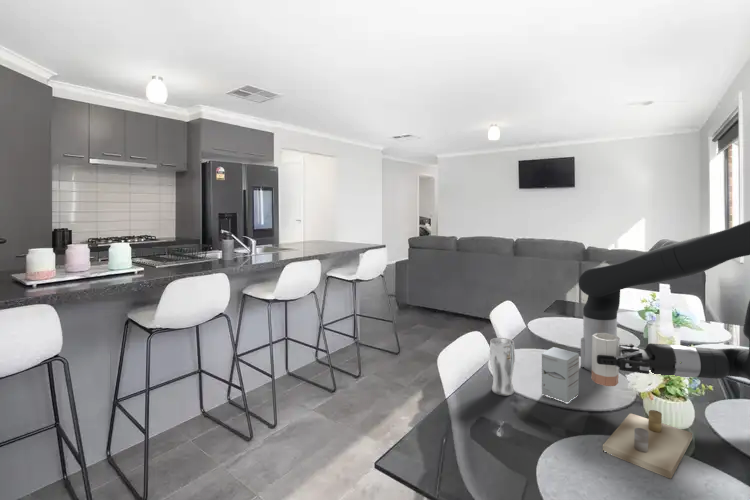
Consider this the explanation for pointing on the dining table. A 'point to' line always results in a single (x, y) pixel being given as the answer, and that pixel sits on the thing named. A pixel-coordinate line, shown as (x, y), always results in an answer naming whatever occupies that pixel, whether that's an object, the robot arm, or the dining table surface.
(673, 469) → the pin board
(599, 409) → the dining table surface
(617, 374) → the sleeve
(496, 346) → the beer glass
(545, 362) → the supplement box
